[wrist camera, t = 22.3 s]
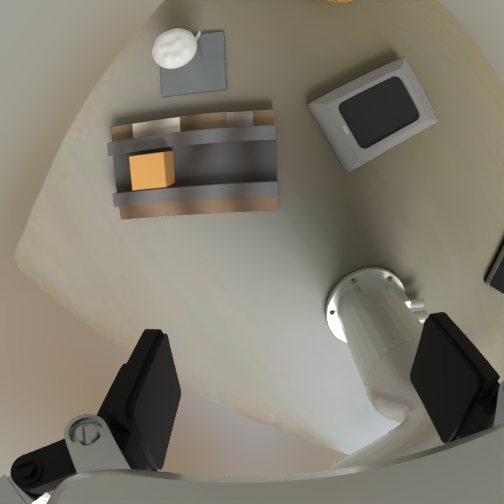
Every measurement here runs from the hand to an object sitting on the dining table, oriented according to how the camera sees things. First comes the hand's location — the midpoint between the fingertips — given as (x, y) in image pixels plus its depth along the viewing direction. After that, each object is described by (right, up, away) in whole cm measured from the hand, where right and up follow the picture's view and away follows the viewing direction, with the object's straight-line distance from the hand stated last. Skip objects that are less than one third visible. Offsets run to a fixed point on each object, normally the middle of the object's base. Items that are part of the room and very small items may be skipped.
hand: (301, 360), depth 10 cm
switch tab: (-13, +14, +25) cm, 32 cm away
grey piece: (-9, +15, +27) cm, 32 cm away
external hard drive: (+43, +2, +31) cm, 53 cm away
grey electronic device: (+14, +22, +25) cm, 36 cm away
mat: (-9, +27, +23) cm, 36 cm away
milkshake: (-9, +27, +22) cm, 36 cm away
